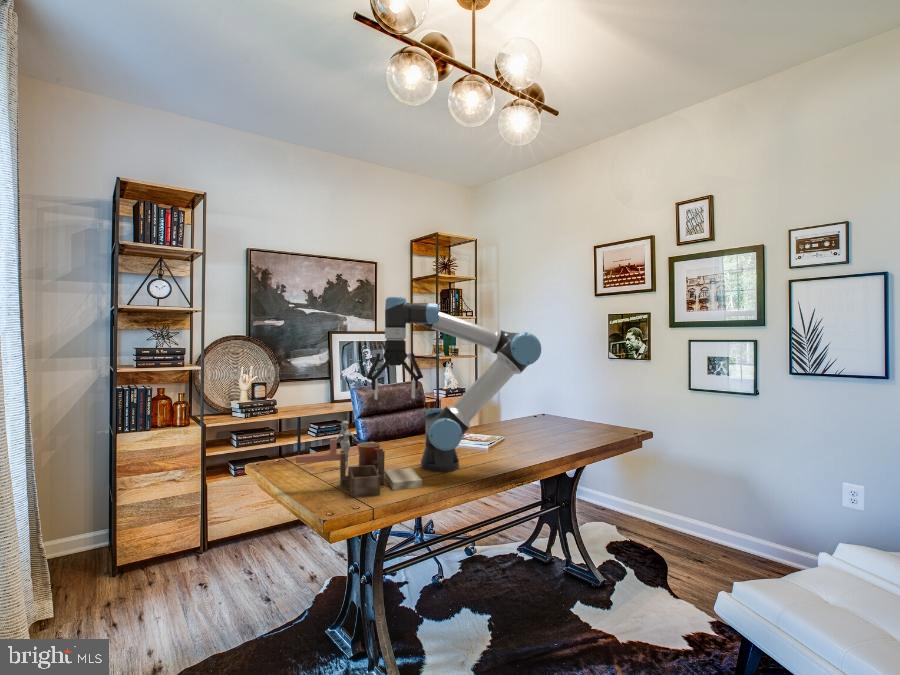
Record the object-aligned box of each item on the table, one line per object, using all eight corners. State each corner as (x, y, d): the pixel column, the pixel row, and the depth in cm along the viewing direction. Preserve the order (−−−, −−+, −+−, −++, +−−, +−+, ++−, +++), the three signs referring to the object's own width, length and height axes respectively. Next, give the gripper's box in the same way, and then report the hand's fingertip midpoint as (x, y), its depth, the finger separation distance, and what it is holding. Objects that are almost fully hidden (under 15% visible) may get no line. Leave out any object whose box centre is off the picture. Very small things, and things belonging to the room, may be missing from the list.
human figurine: (333, 471, 177) (333, 423, 177) (328, 469, 179) (329, 422, 179) (360, 465, 185) (361, 420, 185) (355, 463, 188) (356, 418, 188)
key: (345, 458, 159) (345, 438, 159) (345, 460, 157) (345, 439, 157) (295, 461, 155) (296, 440, 155) (295, 463, 153) (295, 441, 153)
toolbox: (382, 481, 164) (382, 448, 164) (388, 494, 151) (389, 458, 151) (339, 484, 160) (340, 451, 160) (342, 498, 147) (343, 461, 147)
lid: (411, 476, 173) (411, 468, 173) (421, 488, 158) (422, 480, 158) (384, 478, 169) (384, 470, 169) (392, 491, 155) (392, 482, 155)
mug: (352, 471, 176) (352, 444, 176) (370, 467, 182) (370, 441, 182) (372, 478, 168) (372, 449, 168) (390, 473, 174) (391, 445, 174)
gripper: (361, 339, 162) (360, 400, 161) (431, 340, 169) (430, 398, 169) (359, 339, 169) (358, 398, 169) (426, 339, 176) (425, 396, 176)
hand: (394, 398), depth 169 cm, fingers open, 13 cm apart
